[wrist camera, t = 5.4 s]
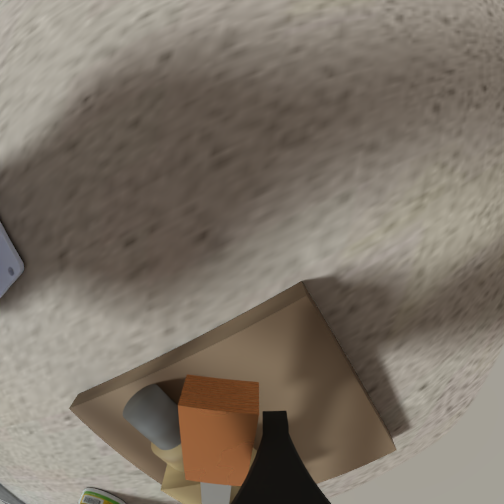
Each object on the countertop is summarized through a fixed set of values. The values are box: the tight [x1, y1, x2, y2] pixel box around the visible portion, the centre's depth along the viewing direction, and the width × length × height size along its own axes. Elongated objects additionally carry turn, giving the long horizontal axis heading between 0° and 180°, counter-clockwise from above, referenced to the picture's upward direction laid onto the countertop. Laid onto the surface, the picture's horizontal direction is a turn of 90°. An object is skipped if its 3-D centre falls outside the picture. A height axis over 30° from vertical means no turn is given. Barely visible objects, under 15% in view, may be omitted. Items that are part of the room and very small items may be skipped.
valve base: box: [69, 281, 396, 504], centre depth 14 cm, size 16×14×5 cm
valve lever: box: [178, 374, 259, 504], centre depth 10 cm, size 10×2×1 cm, turn 174°
